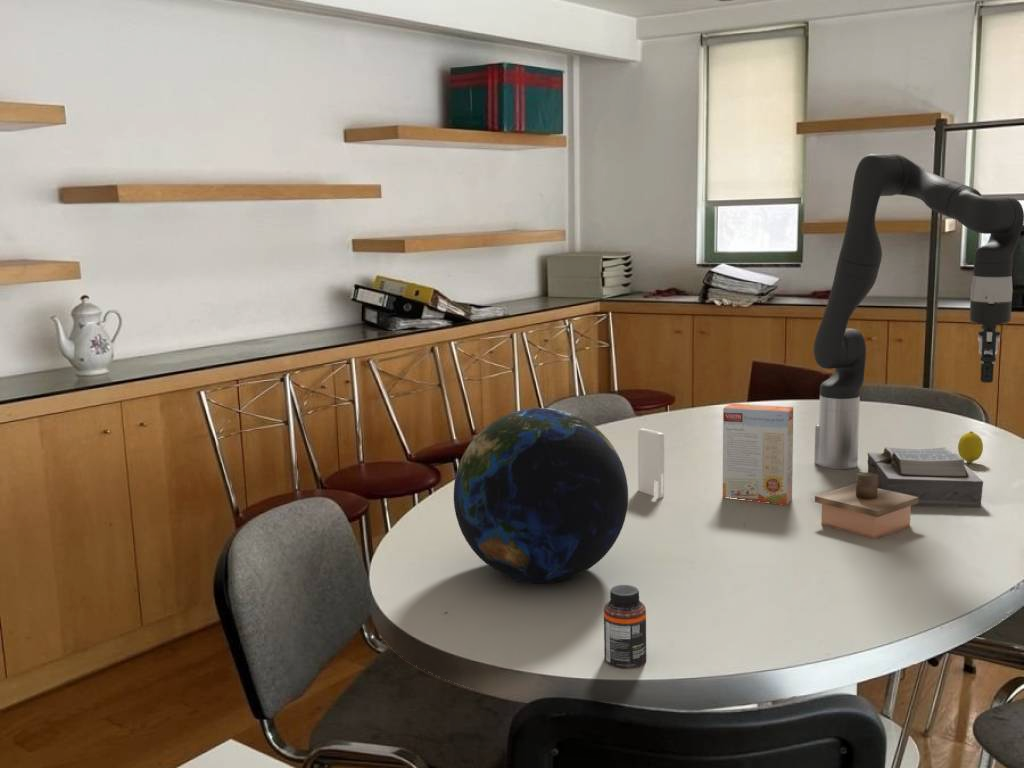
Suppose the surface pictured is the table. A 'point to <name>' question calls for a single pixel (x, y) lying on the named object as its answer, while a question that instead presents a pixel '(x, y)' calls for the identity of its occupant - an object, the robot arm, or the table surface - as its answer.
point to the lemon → (970, 447)
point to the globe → (540, 495)
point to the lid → (866, 497)
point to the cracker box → (758, 452)
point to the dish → (865, 521)
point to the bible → (927, 476)
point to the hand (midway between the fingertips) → (986, 378)
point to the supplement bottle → (625, 628)
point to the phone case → (650, 461)
